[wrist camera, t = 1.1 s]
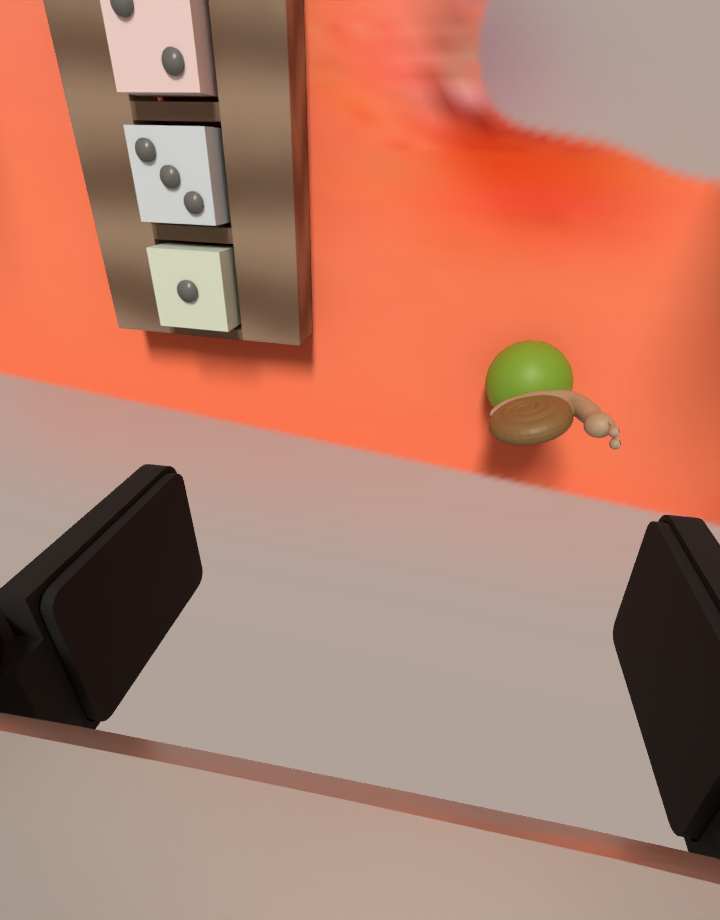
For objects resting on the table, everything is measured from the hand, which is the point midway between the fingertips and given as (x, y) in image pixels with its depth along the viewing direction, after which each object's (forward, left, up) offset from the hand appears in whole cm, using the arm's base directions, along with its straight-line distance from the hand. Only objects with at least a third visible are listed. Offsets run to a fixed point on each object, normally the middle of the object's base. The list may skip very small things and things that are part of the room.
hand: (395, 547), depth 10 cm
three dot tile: (-6, -17, -25) cm, 31 cm away
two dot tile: (-12, -17, -25) cm, 33 cm away
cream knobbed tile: (+1, -17, -25) cm, 30 cm away
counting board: (-6, -17, -27) cm, 33 cm away
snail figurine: (+5, +6, -27) cm, 28 cm away
